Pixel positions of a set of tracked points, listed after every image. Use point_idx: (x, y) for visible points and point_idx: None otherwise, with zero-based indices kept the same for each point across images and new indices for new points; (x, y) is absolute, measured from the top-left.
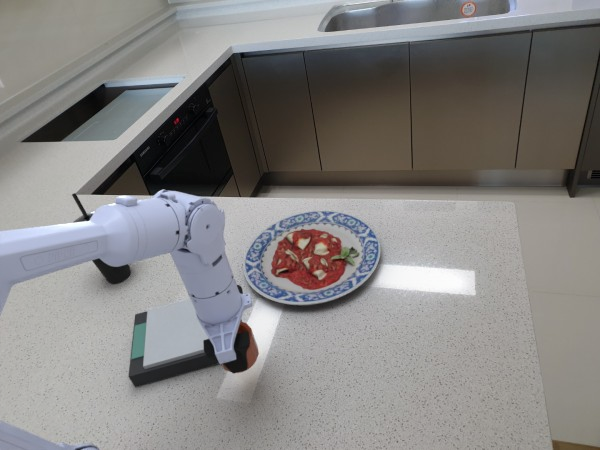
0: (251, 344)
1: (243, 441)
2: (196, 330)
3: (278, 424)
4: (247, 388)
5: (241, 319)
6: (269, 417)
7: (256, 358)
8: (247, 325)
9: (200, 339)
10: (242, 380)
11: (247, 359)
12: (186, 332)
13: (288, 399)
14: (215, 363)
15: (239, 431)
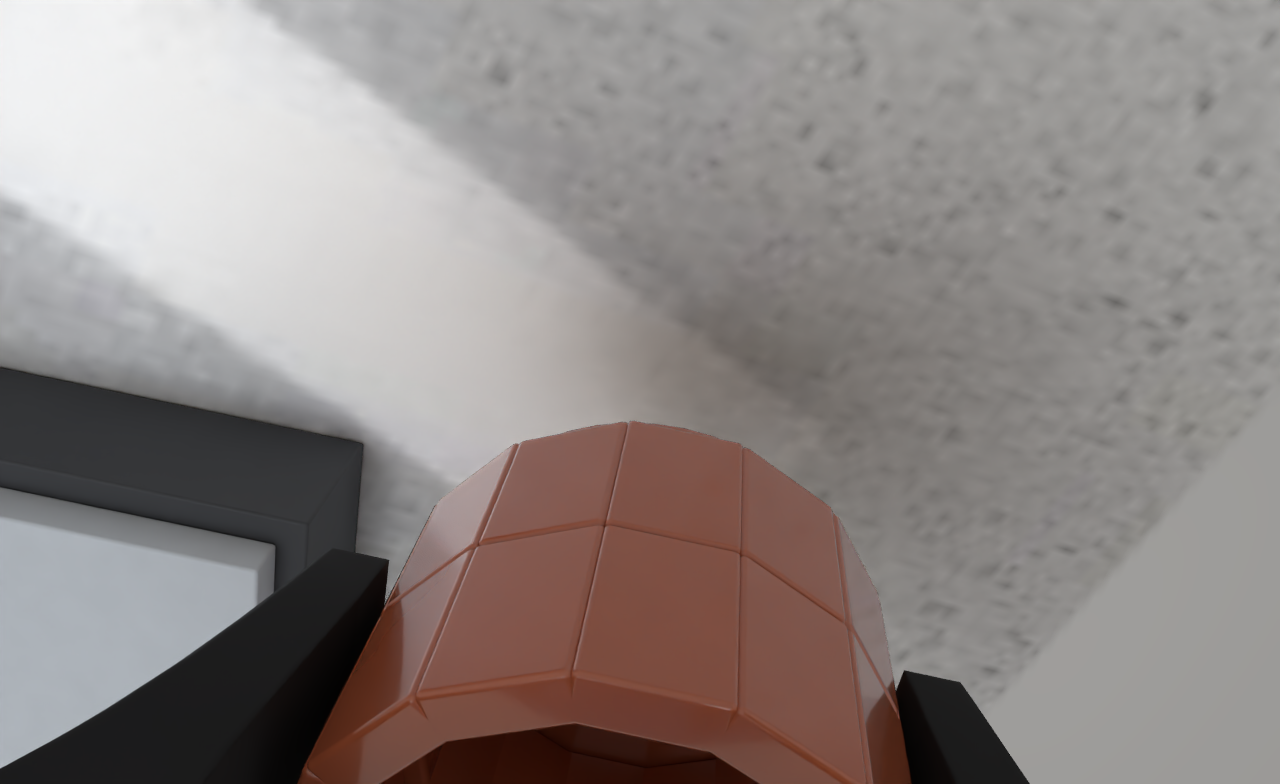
0: (835, 702)
1: (1092, 565)
2: (16, 692)
3: (1149, 306)
4: (692, 407)
5: (270, 704)
6: (1043, 346)
7: (816, 503)
8: (475, 700)
9: (132, 691)
10: (598, 417)
11: (893, 692)
12: (14, 759)
13: (995, 143)
14: (351, 551)
15: (1002, 564)
